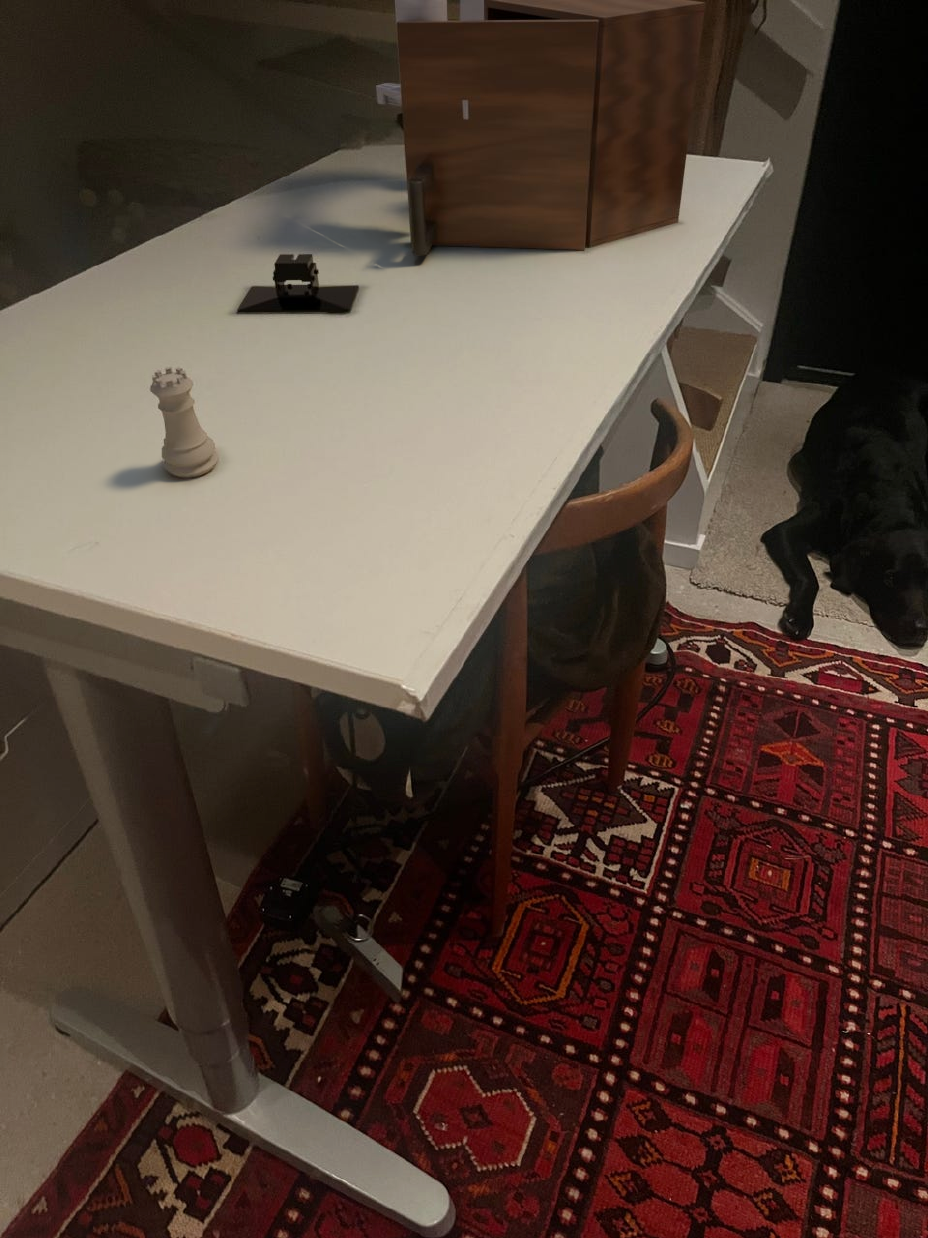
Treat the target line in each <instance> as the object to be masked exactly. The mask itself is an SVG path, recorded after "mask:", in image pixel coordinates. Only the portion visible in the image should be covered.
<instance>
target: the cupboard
mask: <svg viewBox="0 0 928 1238" xmlns="http://www.w3.org/2000/svg"><path fill="white" fill-rule="evenodd" d="M705 10H706V2H703V1H697V0H484V20H599V28H598V44H597V61H596V78H595V94H594V111H593V128H592V144H591V161H590V178H589V194H588V211H587V228H586V245H585V248H586V247H587V248H588V249H591V248H595V247H598V246H601V245H605V244H610V243H612V242H615V241H619V240H623V239H625V238H626V239H627V238H629V237H633V236H636V235H639V234H640V235H641V234H644V233H646V232H647V233H648V232H650V231H654V230H657V229H660V228H661V229H662V228H664V227H667V226H668V227H669V226H671V225H674V224H678V223H679V221H680V220H679V219H680V210H681V203H682V196H683V188H684V187H683V186H684V179H685V170H686V162H687V155H688V146H689V140H690V139H689V138H690V130H691V124H692V123H691V122H692V114H693V105H694V99H695V91H696V90H695V89H696V83H697V76H698V75H697V73H698V65H699V58H700V50H701V42H702V35H703V34H702V33H703V26H704V19H705Z"/></svg>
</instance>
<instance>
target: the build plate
mask: <svg viewBox="0 0 928 1238" xmlns="http://www.w3.org/2000/svg"><path fill="white" fill-rule="evenodd" d="M273 265H274V270H273V273H272V274H273V276H272V281H273V282H274V285H252V286H250V288H249V290H248V291H247V293H246V295H245V296H244V298H243V299H242V301H241V302H240V304H239V306H238V308H237V309H236V311H237V314H329V315H345V314H349V313H351V312H352V309H353V307H354V304H355V301H356V299H357V296H358V293H359V291H360V285H358V284H357V285H356V284H355V285H354V284H353V285H352V284H351V285H350V284H349V285H348V284H346V285H343V284H341V285H339V284H337V285H333V284H332V285H320V283H319V273H320V272H319V269H318V267H317V262H314V256H313V253H298V255H297V256H296V258H295V254H294V253H285V254H284V253H281V254H279V255H278V256H277V258H276V260H275V262H274V264H273ZM287 281H301V282H302V283H307V284H292V283H287V284H285V283H286V282H287Z"/></svg>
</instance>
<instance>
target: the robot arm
mask: <svg viewBox="0 0 928 1238" xmlns="http://www.w3.org/2000/svg"><path fill="white" fill-rule="evenodd" d="M447 2H448V0H394V10H395V12H394V13H395V25H396V29H397V22H398V21H448V3H447ZM467 20H484V0H459V21H467ZM396 42H397V43H396V44H398V38H397V37H396ZM397 55H398V57H399V53H398V52H397ZM398 70H399V74H400V69H399V68H398ZM375 90H376V102H377V104H378V105H387V104H388V105H392V106H393V105H394V106H400V107H402V99H401V84H400V83H390V82H386V83H381V84H377V85H375ZM463 119H468V100H463ZM396 122H397V124H398V125H399V127H400V128H401V130H402V132H403V133H404V130H403V115H402V112H401V113H398V114H396Z"/></svg>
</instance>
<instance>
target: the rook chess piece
mask: <svg viewBox="0 0 928 1238" xmlns="http://www.w3.org/2000/svg"><path fill="white" fill-rule="evenodd" d="M164 370H165V373H162V370H160V369H157V370H156V371H154V372H153V373H154V374H152V375H151V379H152V383H151V384H150V387H149V391H150V392H151V394H153V395H154V396H155V397H157V398H158V401H159V403H157V409H158V410H160V411H161V413H162V417H163V421H164V430H165V431H164V432H165V437H164V438H163V445H162V447H161V458H162V460H163V462H162V464H163V468H164V469H165V470H166V471H167V472H168V473H169V474H171V475H173V476H174V477H178V478H195V477H200V476H202V475H205V474H207V473H209V472H210V471H212V470H213V469H214V467H215V466H216V464H217V462H218V461H219V459H220V458H219V457H220V456H219V452H217V451H216V443H215V442H214V440H213V439H212V438H211V437H210V436H209V435H208V433H207V432H206V431H205V430H204V429H203V428H202V426H201V425H200V422H199V419H198V417H197V413H196V412H195V411H196V410H195V407H194V405H195V399H194V398H193V397H192V396H191V394H190V393H191V390H192V388H193V386H194V381H193V379H191V378H190V377H188V376H187V373H186V370H184V369H183V367H178V366H176V368H175V372H173V368H172V366H170V367H169V366H168V367H164Z"/></svg>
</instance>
